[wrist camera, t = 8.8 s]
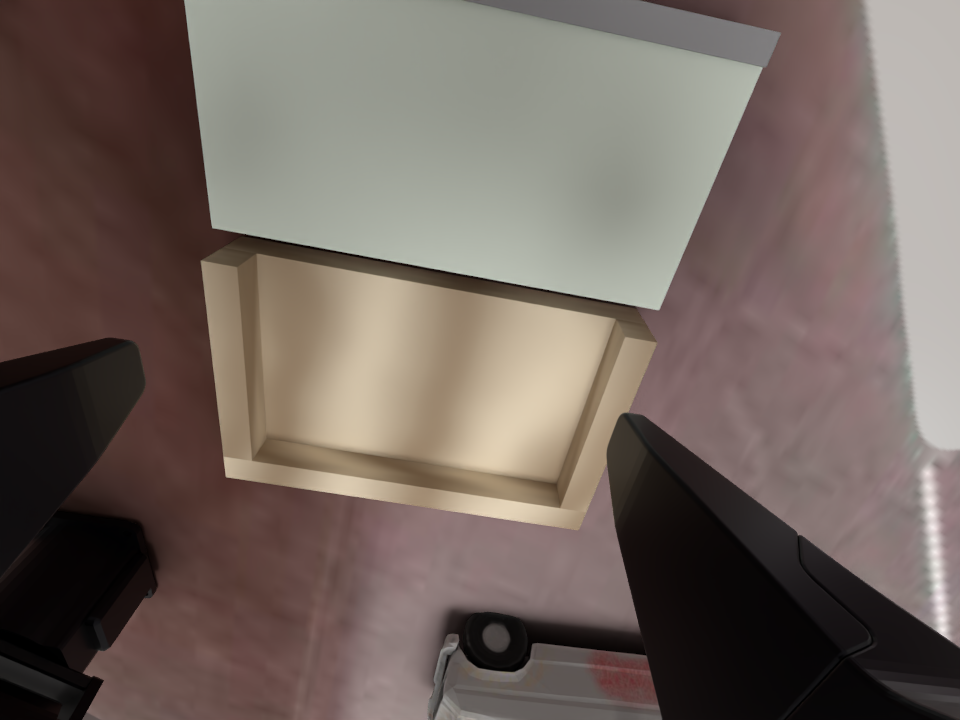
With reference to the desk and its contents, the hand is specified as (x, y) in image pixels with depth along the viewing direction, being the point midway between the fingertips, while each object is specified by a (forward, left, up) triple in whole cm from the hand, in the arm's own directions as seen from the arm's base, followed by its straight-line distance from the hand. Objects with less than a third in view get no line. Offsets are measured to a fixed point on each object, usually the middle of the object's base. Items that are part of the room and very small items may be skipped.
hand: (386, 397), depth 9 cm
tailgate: (0, -1, -9) cm, 9 cm away
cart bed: (0, -6, -11) cm, 13 cm away
